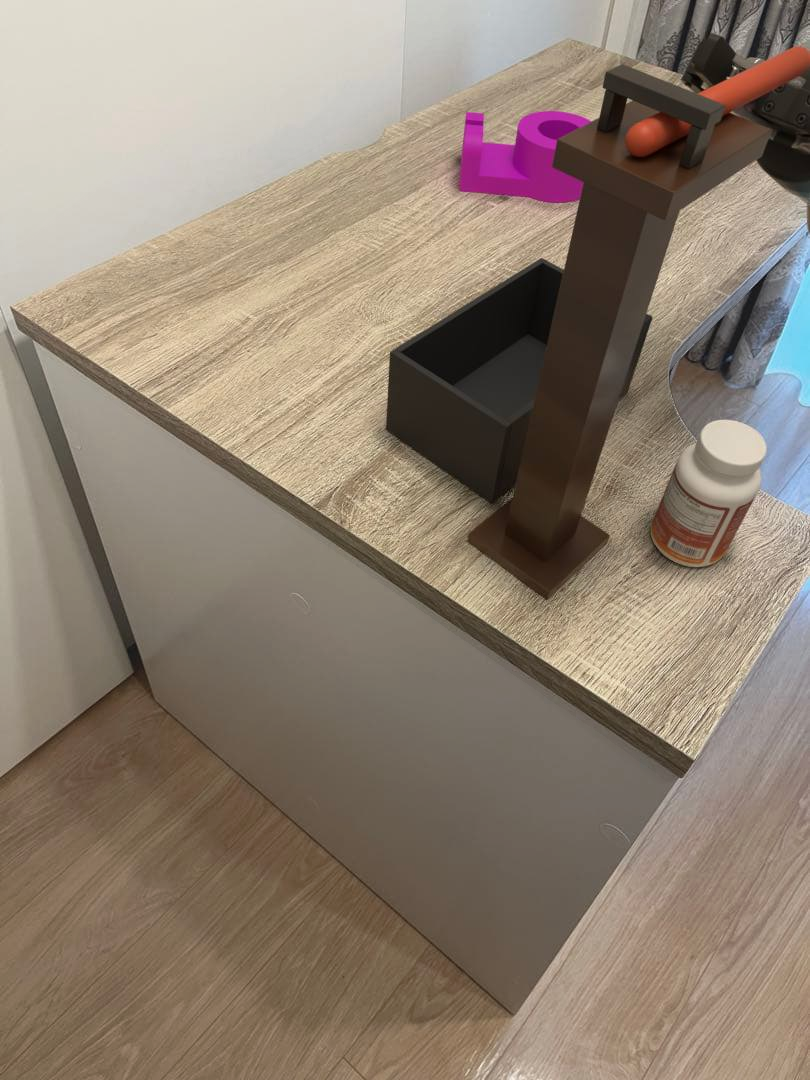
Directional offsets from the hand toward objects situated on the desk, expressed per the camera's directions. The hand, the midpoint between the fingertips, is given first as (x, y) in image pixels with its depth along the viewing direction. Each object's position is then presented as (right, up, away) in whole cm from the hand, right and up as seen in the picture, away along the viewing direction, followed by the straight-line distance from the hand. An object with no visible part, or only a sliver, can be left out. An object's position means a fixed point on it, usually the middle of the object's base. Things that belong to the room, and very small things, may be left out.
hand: (769, 75), depth 51 cm
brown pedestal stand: (-10, -27, +19) cm, 34 cm away
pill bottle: (+1, -27, +19) cm, 34 cm away
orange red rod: (-5, -3, -3) cm, 7 cm away
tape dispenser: (-7, +17, +55) cm, 58 cm away
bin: (-12, -16, +28) cm, 34 cm away
